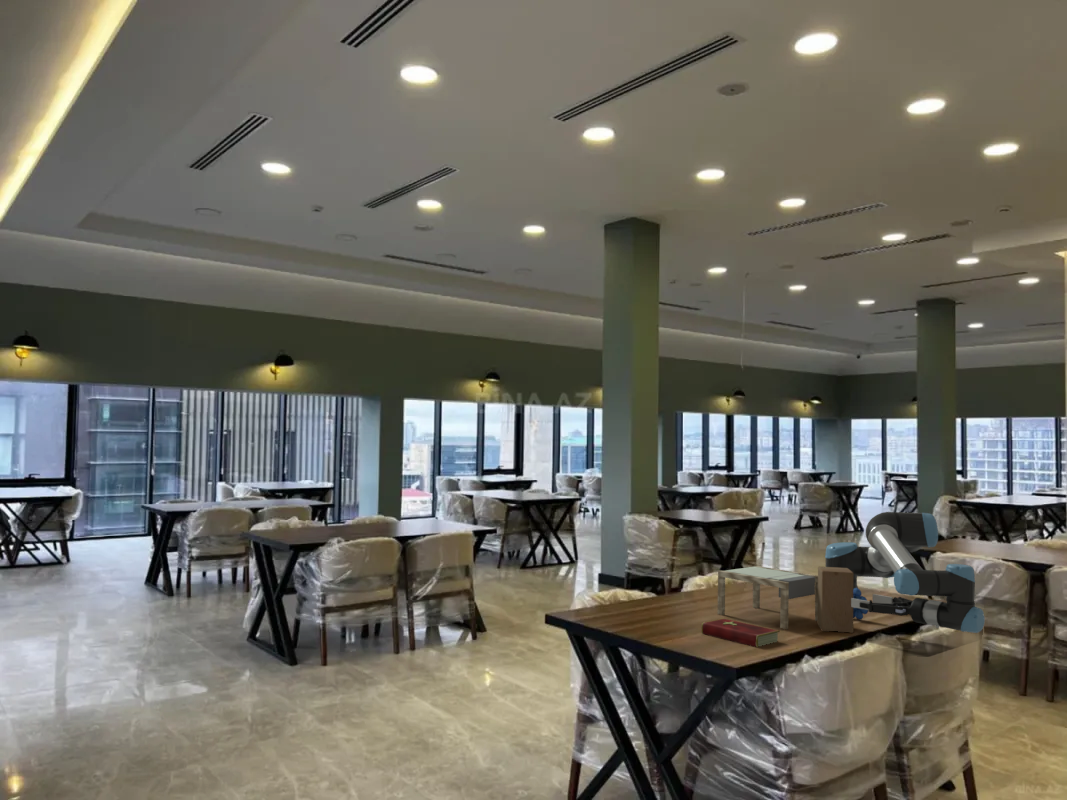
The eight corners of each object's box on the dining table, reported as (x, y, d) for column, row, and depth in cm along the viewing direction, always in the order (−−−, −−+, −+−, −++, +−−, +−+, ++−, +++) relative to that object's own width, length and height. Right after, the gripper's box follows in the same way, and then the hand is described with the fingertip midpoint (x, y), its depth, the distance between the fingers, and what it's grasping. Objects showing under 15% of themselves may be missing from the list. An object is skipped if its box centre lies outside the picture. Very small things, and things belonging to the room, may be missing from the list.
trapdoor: (817, 593, 285) (817, 576, 285) (786, 599, 273) (786, 581, 273) (754, 582, 305) (754, 566, 305) (723, 587, 293) (723, 570, 293)
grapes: (830, 617, 291) (830, 583, 292) (839, 615, 296) (839, 581, 296) (862, 623, 283) (862, 588, 283) (870, 620, 287) (870, 586, 288)
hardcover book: (757, 648, 246) (757, 634, 246) (701, 635, 262) (701, 621, 262) (779, 643, 254) (779, 629, 254) (724, 630, 270) (724, 617, 270)
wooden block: (853, 633, 268) (853, 572, 268) (821, 631, 270) (822, 570, 270) (847, 626, 277) (848, 567, 278) (817, 624, 279) (817, 566, 280)
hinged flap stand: (822, 621, 285) (823, 576, 286) (785, 629, 271) (785, 582, 271) (755, 607, 307) (755, 565, 307) (717, 614, 292) (718, 570, 293)
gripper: (908, 629, 242) (842, 616, 258) (946, 619, 258) (881, 607, 274) (908, 604, 242) (842, 592, 259) (946, 595, 258) (881, 585, 274)
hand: (862, 600), depth 266 cm, fingers open, 13 cm apart
